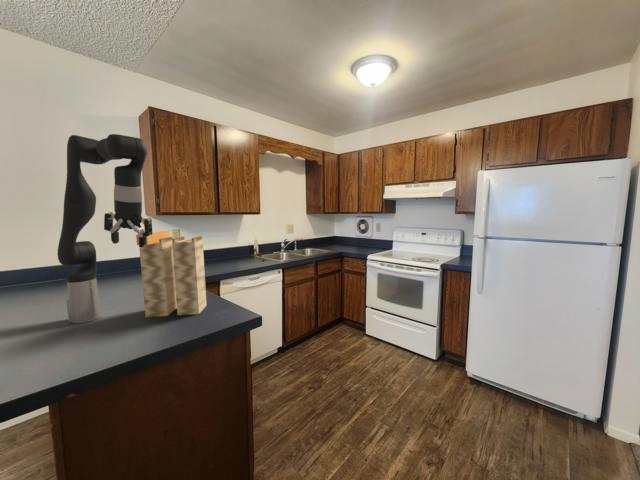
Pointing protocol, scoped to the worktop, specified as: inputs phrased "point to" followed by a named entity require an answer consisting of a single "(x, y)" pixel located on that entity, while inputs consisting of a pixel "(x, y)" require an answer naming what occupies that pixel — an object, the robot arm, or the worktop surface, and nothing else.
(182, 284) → the post
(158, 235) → the bracket bar
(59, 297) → the worktop surface
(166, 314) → the rosette post
